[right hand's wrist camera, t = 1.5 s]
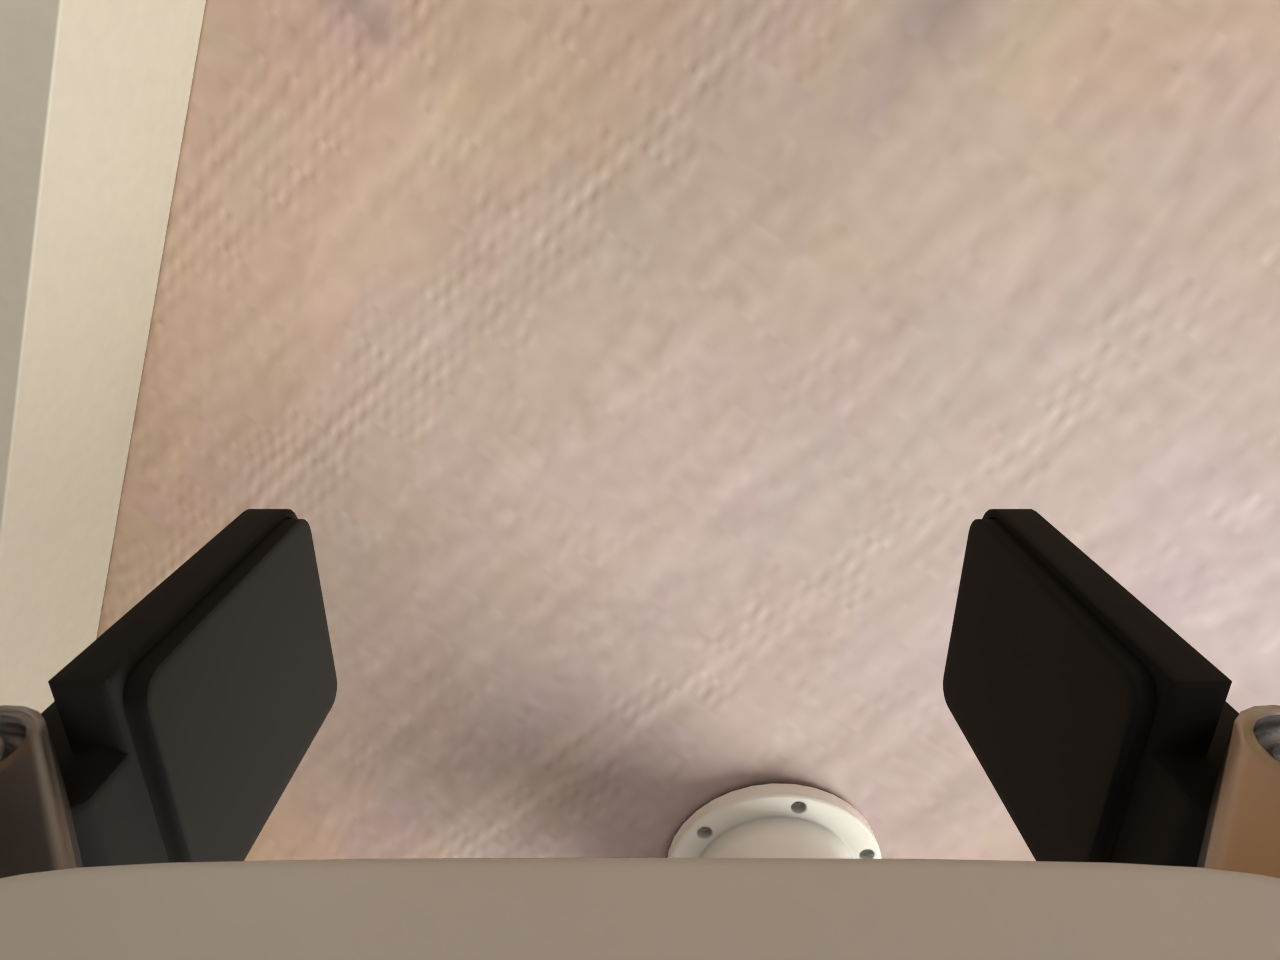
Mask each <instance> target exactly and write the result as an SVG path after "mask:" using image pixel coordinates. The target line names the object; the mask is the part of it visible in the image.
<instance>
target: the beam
mask: <svg viewBox="0 0 1280 960" xmlns="http://www.w3.org/2000/svg"><path fill="white" fill-rule="evenodd" d="M205 4H206V0H0V706H2V705H12V706H26V707H29V708H31V709H34V710H36V711H39V712H40V714H41V713H42V712H43V711H44V710H45V709H47V708H48V707H49V706H50V705H51V704H52V703H53V702H54V698H53V695H52V692H51V689H50V686H49V683H48V681H49V680H50V679H51V678H52V677H54V676H55V675H56V674H57V673H58V672H59V671H60V670H62V669H63V668H64V667H65V666H66V665H67V664H69V663H70V662H71V661H72V660H73V659H74V658H75V657H77V656H78V655H79V654H80V653H81V652H82V651H84V650H85V649H86V648H87V647H88V646H89V645H90V644H92V643H93V642H94V641H95V640H96V638H97V632H98V627H99V621H100V615H101V609H102V603H103V598H104V592H105V586H106V580H107V574H108V568H109V563H110V557H111V551H112V545H113V539H114V534H115V528H116V522H117V516H118V510H119V504H120V499H121V493H122V487H123V481H124V475H125V469H126V464H127V458H128V452H129V446H130V440H131V435H132V429H133V423H134V417H135V411H136V405H137V400H138V394H139V388H140V382H141V376H142V371H143V365H144V359H145V353H146V347H147V341H148V336H149V330H150V324H151V318H152V312H153V307H154V301H155V295H156V289H157V283H158V277H159V272H160V266H161V260H162V254H163V248H164V242H165V237H166V231H167V225H168V219H169V213H170V208H171V202H172V196H173V190H174V184H175V178H176V173H177V167H178V161H179V155H180V149H181V144H182V138H183V132H184V126H185V120H186V114H187V109H188V103H189V97H190V91H191V85H192V79H193V74H194V68H195V62H196V56H197V50H198V45H199V39H200V33H201V27H202V21H203V15H204V10H205Z"/></svg>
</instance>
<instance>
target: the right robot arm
mask: <svg viewBox="0 0 1280 960" xmlns="http://www.w3.org/2000/svg"><path fill="white" fill-rule="evenodd" d="M48 683H49V686H50V689H51V692H52V695H53V698H54V702H53V703H52V704H51V705H50V706H49V707H48V708H47V709H45V710H44V711H43V712H42V713H41V714H40V712H39V711H36V710H34V709H31V708H29V707H26V706H12V705H2V706H0V960H1280V706H1278V705H1268V706H1254V707H1251V708H1249V709H1246V710H1244V711H1241V712H1240V714H1239V713H1238V712H1237V711H1236V710H1235V709H1233V708H1232V707H1231V706H1230V705H1229V704H1228V703H1227V702H1226V698H1227V695H1228V692H1229V689H1230V686H1231V683H1232V681H1231V680H1230V679H1229V678H1228V677H1226V676H1225V675H1224V674H1223V673H1222V672H1221V671H1220V670H1218V669H1217V668H1216V667H1215V666H1214V665H1213V664H1211V663H1210V662H1209V661H1208V660H1207V659H1206V658H1205V657H1203V656H1202V655H1201V654H1200V653H1199V652H1198V651H1196V650H1195V649H1194V648H1193V647H1192V646H1191V645H1190V644H1188V643H1187V642H1186V641H1185V640H1184V639H1183V638H1181V637H1180V636H1179V635H1178V634H1177V633H1176V632H1175V631H1173V630H1172V629H1171V628H1170V627H1169V626H1168V625H1166V624H1165V623H1164V622H1163V621H1162V620H1161V619H1160V618H1158V617H1157V616H1156V615H1155V614H1154V613H1153V612H1151V611H1150V610H1149V609H1148V608H1147V607H1146V606H1145V605H1143V604H1142V603H1141V602H1140V601H1139V600H1138V599H1136V598H1135V597H1134V596H1133V595H1132V594H1131V593H1130V592H1128V591H1127V590H1126V589H1125V588H1124V587H1123V586H1121V585H1120V584H1119V583H1118V582H1117V581H1116V580H1115V579H1113V578H1112V577H1111V576H1110V575H1109V574H1108V573H1106V572H1105V571H1104V570H1103V569H1102V568H1101V567H1100V566H1098V565H1097V564H1096V563H1095V562H1094V561H1093V560H1091V559H1090V558H1089V557H1088V556H1087V555H1086V554H1085V553H1083V552H1082V551H1081V550H1080V549H1079V548H1078V547H1076V546H1075V545H1074V544H1073V543H1072V542H1071V541H1070V540H1068V539H1067V538H1066V537H1065V536H1064V535H1063V534H1061V533H1060V532H1059V531H1058V530H1057V529H1056V528H1055V527H1053V526H1052V525H1051V524H1050V523H1049V522H1048V521H1046V520H1045V519H1044V518H1043V517H1042V516H1041V515H1040V514H1038V513H1037V512H1036V511H1034V510H1032V509H990V510H988V511H987V512H986V513H985V515H984V516H983V518H982V519H976V520H974V521H973V522H972V524H971V526H970V530H969V534H968V540H967V546H966V551H965V557H964V563H963V568H962V574H961V580H960V586H959V591H958V597H957V603H956V609H955V614H954V620H953V626H952V632H951V637H950V643H949V649H948V655H947V660H946V666H945V672H944V678H943V691H944V697H945V700H946V703H947V706H948V708H949V709H950V711H951V713H952V715H953V716H954V718H955V720H956V722H957V723H958V725H959V727H960V729H961V730H962V732H963V734H964V736H965V737H966V739H967V741H968V743H969V744H970V746H971V748H972V750H973V751H974V753H975V755H976V757H977V758H978V760H979V762H980V764H981V765H982V767H983V769H984V771H985V772H986V774H987V776H988V778H989V779H990V781H991V783H992V785H993V786H994V788H995V790H996V791H997V793H998V795H999V797H1000V798H1001V800H1002V802H1003V804H1004V805H1005V807H1006V809H1007V811H1008V812H1009V814H1010V816H1011V818H1012V819H1013V821H1014V823H1015V825H1016V826H1017V828H1018V830H1019V832H1020V833H1021V835H1022V837H1023V839H1024V840H1025V842H1026V844H1027V846H1028V847H1029V849H1030V851H1031V853H1032V854H1033V856H1034V858H1035V860H1036V861H998V860H945V859H882V858H881V854H880V850H879V846H878V844H877V841H876V839H875V836H874V834H873V831H872V829H871V827H870V826H869V824H868V823H867V821H866V820H865V819H864V817H863V816H862V815H861V814H860V813H859V812H858V811H857V810H856V809H854V808H853V807H852V806H851V805H850V804H849V803H847V802H845V801H843V800H842V799H840V798H838V797H837V796H835V795H833V794H830V793H828V792H825V791H822V790H819V789H816V788H813V787H808V786H802V785H797V784H776V783H772V784H764V785H755V786H750V787H746V788H742V789H739V790H735V791H732V792H729V793H727V794H725V795H723V796H720V797H718V798H716V799H714V800H712V801H710V802H709V803H707V804H706V805H704V806H703V807H701V808H700V809H698V810H697V811H696V812H695V813H694V814H693V815H692V816H691V817H690V818H689V819H687V820H686V821H685V822H684V823H683V825H682V826H681V828H680V829H679V831H678V832H677V834H676V835H675V837H674V839H673V841H672V844H671V846H670V849H669V851H668V858H442V859H335V860H282V861H244V860H245V858H246V856H247V854H248V853H249V851H250V849H251V847H252V846H253V844H254V842H255V840H256V839H257V837H258V835H259V833H260V832H261V830H262V828H263V826H264V825H265V823H266V821H267V819H268V818H269V816H270V814H271V812H272V811H273V809H274V807H275V805H276V804H277V802H278V800H279V798H280V797H281V795H282V793H283V791H284V790H285V788H286V786H287V784H288V783H289V781H290V779H291V778H292V776H293V774H294V772H295V771H296V769H297V767H298V765H299V764H300V762H301V760H302V758H303V757H304V755H305V753H306V751H307V750H308V748H309V746H310V744H311V743H312V741H313V739H314V737H315V736H316V734H317V732H318V730H319V729H320V727H321V725H322V723H323V722H324V720H325V718H326V716H327V715H328V713H329V711H330V709H331V708H332V706H333V703H334V700H335V697H336V691H337V678H336V672H335V666H334V660H333V655H332V649H331V643H330V637H329V632H328V626H327V620H326V614H325V609H324V603H323V597H322V591H321V586H320V580H319V574H318V569H317V563H316V557H315V551H314V546H313V540H312V534H311V530H310V526H309V524H308V522H307V521H306V520H304V519H298V518H297V516H296V515H295V513H294V512H293V511H292V510H290V509H248V510H246V511H244V512H243V513H242V514H240V515H239V516H238V517H237V518H236V519H235V520H234V521H232V522H231V523H230V524H229V525H228V526H227V527H225V528H224V529H223V530H222V531H221V532H220V533H219V534H217V535H216V536H215V537H214V538H213V539H212V540H210V541H209V542H208V543H207V544H206V545H205V546H204V547H202V548H201V549H200V550H199V551H198V552H197V553H195V554H194V555H193V556H192V557H191V558H190V559H189V560H187V561H186V562H185V563H184V564H183V565H182V566H180V567H179V568H178V569H177V570H176V571H175V572H174V573H172V574H171V575H170V576H169V577H168V578H167V579H165V580H164V581H163V582H162V583H161V584H160V585H159V586H157V587H156V588H155V589H154V590H153V591H152V592H150V593H149V594H148V595H147V596H146V597H145V598H144V599H142V600H141V601H140V602H139V603H138V604H137V605H135V606H134V607H133V608H132V609H131V610H130V611H129V612H127V613H126V614H125V615H124V616H123V617H122V618H120V619H119V620H118V621H117V622H116V623H115V624H114V625H112V626H111V627H110V628H109V629H108V630H107V631H105V632H104V633H103V634H102V635H101V636H100V637H99V638H97V639H96V640H95V641H94V642H93V643H92V644H90V645H89V646H88V647H87V648H86V649H85V650H84V651H82V652H81V653H80V654H79V655H78V656H77V657H75V658H74V659H73V660H72V661H71V662H70V663H69V664H67V665H66V666H65V667H64V668H63V669H62V670H60V671H59V672H58V673H57V674H56V675H55V676H54V677H52V678H51V679H50V680H49V681H48Z"/></svg>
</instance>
